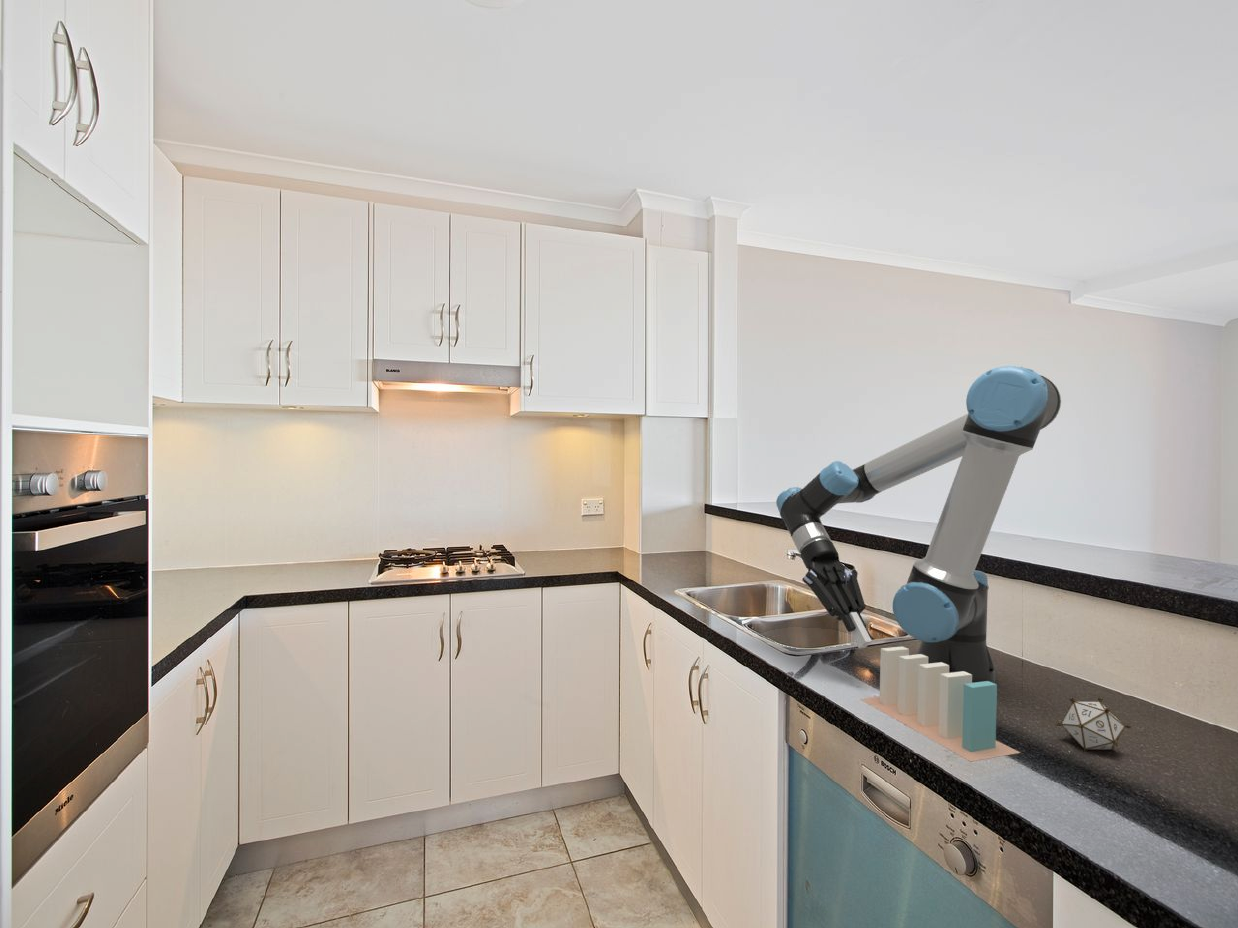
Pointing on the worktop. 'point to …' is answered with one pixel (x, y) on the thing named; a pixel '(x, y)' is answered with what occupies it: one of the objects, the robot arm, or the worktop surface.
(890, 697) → the domino
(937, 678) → the domino
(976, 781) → the worktop surface
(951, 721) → the domino
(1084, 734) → the game die
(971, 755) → the mat
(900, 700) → the domino
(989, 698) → the domino
